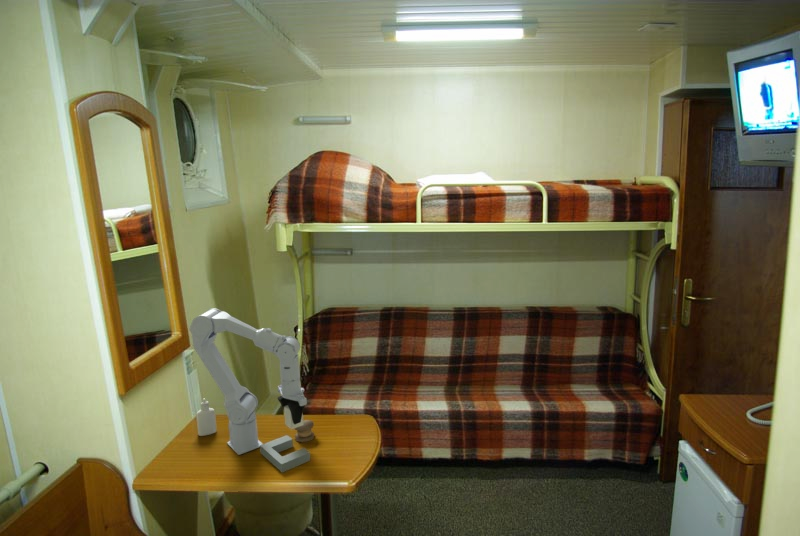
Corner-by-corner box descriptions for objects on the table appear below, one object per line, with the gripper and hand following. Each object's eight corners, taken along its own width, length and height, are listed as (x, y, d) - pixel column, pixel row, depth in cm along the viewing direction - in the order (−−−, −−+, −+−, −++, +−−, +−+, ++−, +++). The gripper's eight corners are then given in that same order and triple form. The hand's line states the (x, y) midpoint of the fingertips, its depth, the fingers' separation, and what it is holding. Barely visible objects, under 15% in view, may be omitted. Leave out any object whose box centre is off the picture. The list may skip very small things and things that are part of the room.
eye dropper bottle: (201, 429, 162) (198, 395, 160) (218, 429, 162) (215, 395, 160) (196, 436, 158) (192, 401, 156) (213, 436, 157) (209, 401, 156)
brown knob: (291, 437, 155) (290, 424, 154) (308, 430, 159) (307, 418, 158) (301, 444, 151) (300, 430, 150) (317, 437, 154) (317, 424, 154)
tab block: (285, 424, 149) (283, 406, 148) (296, 420, 152) (295, 402, 151) (291, 429, 146) (290, 410, 145) (303, 424, 149) (302, 406, 148)
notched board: (260, 452, 146) (259, 445, 146) (287, 442, 152) (287, 434, 152) (282, 472, 136) (281, 464, 135) (310, 460, 141) (309, 452, 141)
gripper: (314, 381, 143) (317, 424, 145) (290, 368, 154) (293, 408, 156) (293, 387, 139) (296, 432, 141) (270, 374, 150) (273, 415, 152)
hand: (293, 420), depth 148 cm, fingers closed on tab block, 4 cm apart
